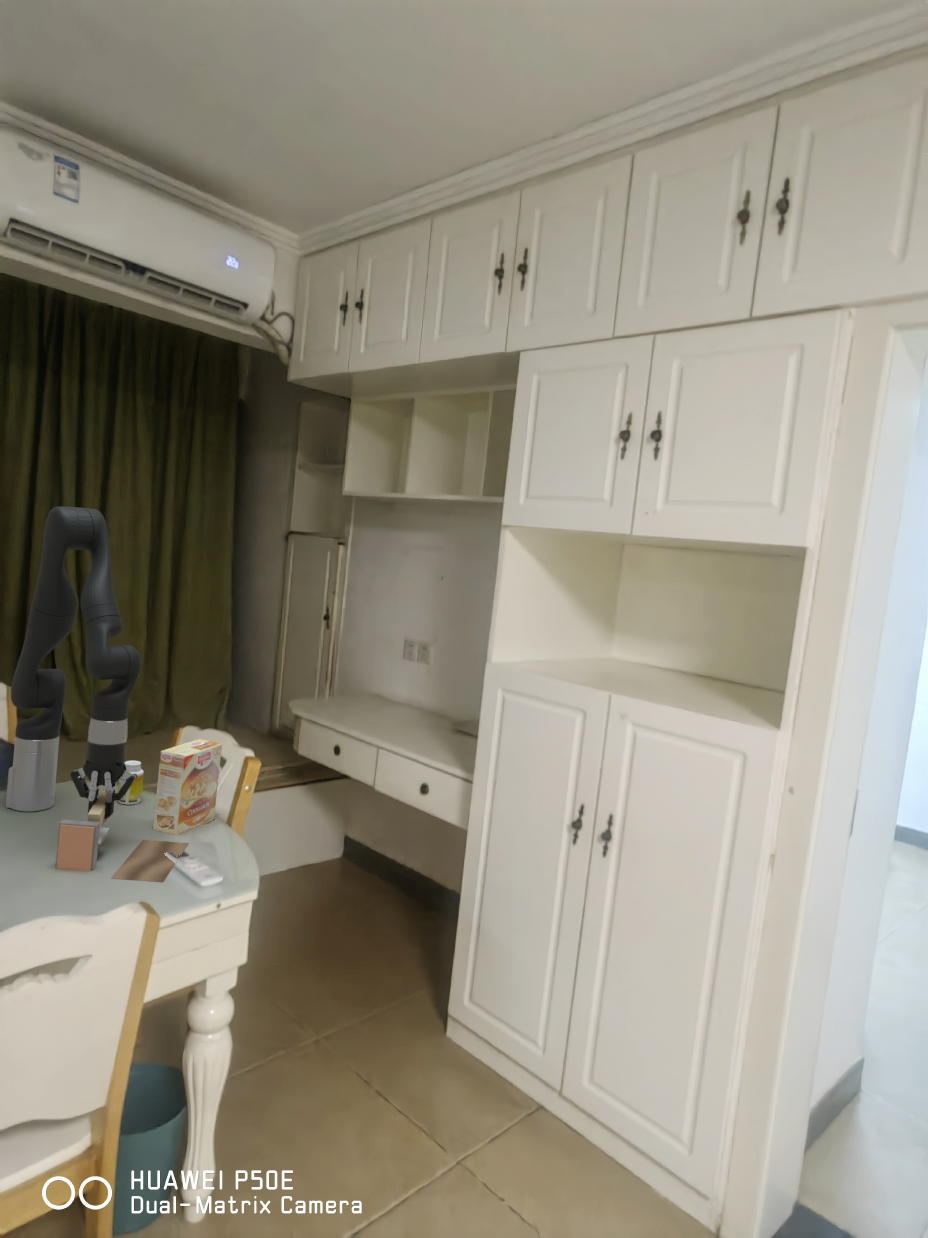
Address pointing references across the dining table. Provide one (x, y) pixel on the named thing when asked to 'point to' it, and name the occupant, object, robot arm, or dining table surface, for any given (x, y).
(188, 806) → the coffeecake box
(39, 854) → the dining table surface
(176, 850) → the board
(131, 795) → the supplement bottle
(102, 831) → the turner
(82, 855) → the glazed tile
